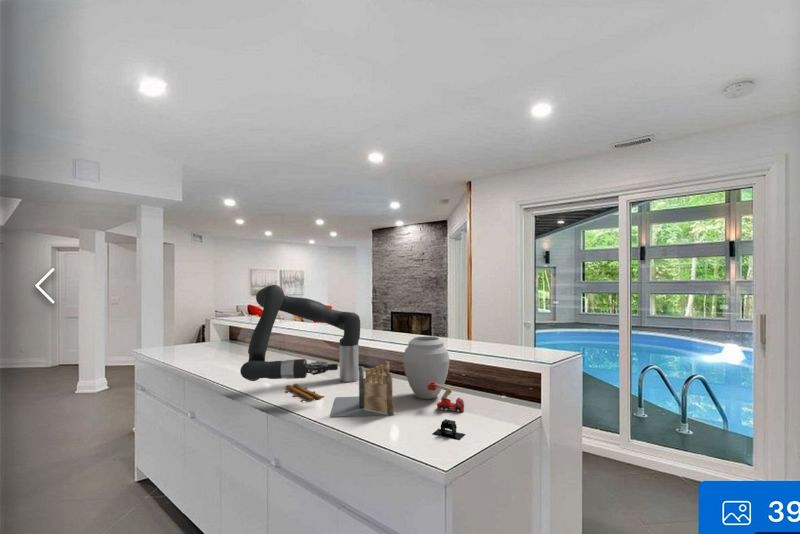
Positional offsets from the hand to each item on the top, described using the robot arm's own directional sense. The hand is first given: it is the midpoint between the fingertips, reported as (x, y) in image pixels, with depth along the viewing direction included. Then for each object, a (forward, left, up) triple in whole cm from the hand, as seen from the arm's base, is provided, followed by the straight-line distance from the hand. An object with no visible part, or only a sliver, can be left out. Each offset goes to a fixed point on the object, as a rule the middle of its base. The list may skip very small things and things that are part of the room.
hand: (337, 366), depth 159 cm
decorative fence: (-14, -16, -15) cm, 26 cm away
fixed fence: (+13, +15, -14) cm, 24 cm away
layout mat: (+6, +10, -14) cm, 19 cm away
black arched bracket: (+36, +38, -15) cm, 55 cm away
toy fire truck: (+13, +42, -15) cm, 46 cm away
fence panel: (+2, +16, -14) cm, 21 cm away
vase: (-4, +37, -14) cm, 40 cm away
